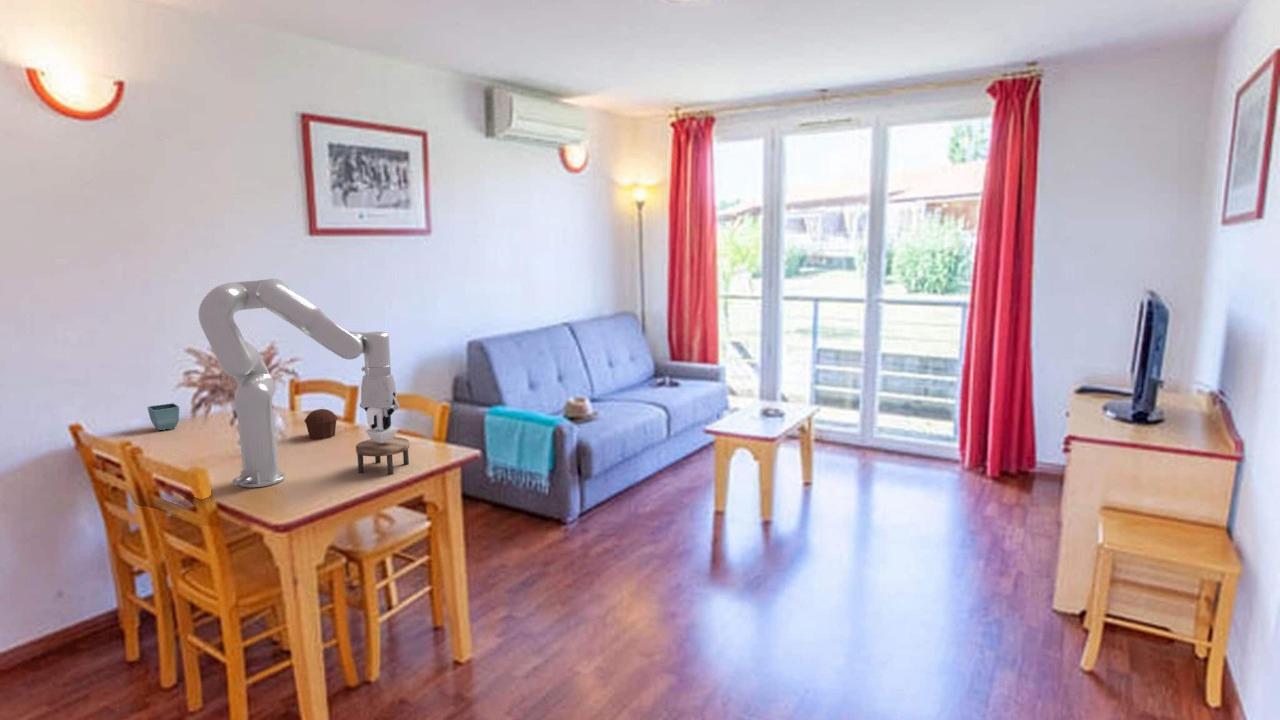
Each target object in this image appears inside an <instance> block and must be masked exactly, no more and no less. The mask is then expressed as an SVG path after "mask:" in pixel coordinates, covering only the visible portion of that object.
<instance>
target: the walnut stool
mask: <svg viewBox="0 0 1280 720" xmlns="http://www.w3.org/2000/svg"><path fill="white" fill-rule="evenodd" d="M409 449H410V441H409V440H408V439H407V438H405V437H398V436H397V437H396V436H395V437H394V438H393V440H390V441H387V442H384V443H379V442H375V441H372V439H371V438H369V439H367V440H362V441H360V442H359V443H357V444H356V445H355V452H356V454H357V455H356V456H357V467H358V469H357V470H358V473H359V474H362V473H364V472H365V467H364V466H365V465H364V464H365V463H364V456H365V457H374V459H375V464H380V463H381V460H382V459H381V457H386V464H387V465H386V466H387V475H388V476H389V475H390V476H392V475H394V464H393V455H398V454H400V453H402V455H403V456H402V457H403V465H404V466H407V465H409V463H410V462H409V461H410V460H409Z"/></svg>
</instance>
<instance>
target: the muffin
mask: <svg viewBox="0 0 1280 720" xmlns="http://www.w3.org/2000/svg"><path fill="white" fill-rule="evenodd" d="M305 417H306V418H304V420H303V421H304V423H305V425H306V429H307V433H308V437H309V439H310V440H315V441H316V440H327V439H331V438H333V437H335V436H336V429H337V427H336V426H337V420H338V416H337V415H336V414H335V413H334V412H333V411H332V410H331V409H326V408H319V409H315V410H313V411H311V412H310V413H308V414H307V415H306V416H305Z"/></svg>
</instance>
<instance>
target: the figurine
mask: <svg viewBox="0 0 1280 720" xmlns="http://www.w3.org/2000/svg"><path fill="white" fill-rule="evenodd" d="M393 407H394V405H392V406H391V408H393ZM375 415H376V417H377V427H376V428H374V429H372V427H371V428H367V429H364V430H365V432H366V434H367V435H368V437H369V439H372V441H375V442H379V443H384V442H387V441H390V440H393V438H394V437H396V435H397V433H398V431H399V427H395V426H392V425H390V427H389V428H387V429H383V417H384V411H383V408H375V407H371V408H368V409H367V412H366V421H367V422H366V423H367V424H368V425H370V426H372V425H373V424H374V416H375Z"/></svg>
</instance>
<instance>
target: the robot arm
mask: <svg viewBox="0 0 1280 720" xmlns="http://www.w3.org/2000/svg"><path fill="white" fill-rule="evenodd" d="M263 308H264V309H266V310H267V311H270V313H273V314H274V315H276V316H277V317H278V318H281V319H282V320H284V321H286V322H288V323H289V324H290V325H292V326H294V327H295V328H297V329H298V330H300V331H301V332H302V333H303V334H305V335H306V336H308V337H310V338H311V339H312V340H313V341H315V342H317V343H318V344H319V345H321V346H322V347H324V348H325V349H327V350H328V351H331V352H332V353H333V354H335V355H336V356H338V357H340V358H342V359H345V360H354V359H355V360H356V359H357V358H359V357H360V356H361V354H362V355H364V366H362V367H361V371H362V372H364V375H363V376H362V380H361V386H360V387H361V388H360V403H359V407H360V408H361V409H363V410H365V412H366V413H367V409H368V408H371V407H375V408H383V411H384V417H383V429H387V428H389V427H390V426H392V418H391V417H392V415H393V414H394V412H395V411H397V410H399V409H400V408H401V405H400V403H399V401H398V397H397V388H396V382H395V379H394V376H393V374H392V372H391V369H392V367H391V355H390V352H391V351H390V350H391V349H390V337H389V334H388V333H387V332H385V331H368V332H363V331H362V332H360V331H348V330H346V329H344V328H343V327H341V326H339V325H338V324H336V323H335V322H334V321H333V320H332V319H330V318H329V317H328V316H327V315H326V314H325V313H324V311H322V309H321V308H320V307H318V306H317V305H316V304H314V303H312V302H311V301H309V300H308V299H306V298H305V297H303V296H301V295H300V294H298V293H297V292H296V291H294V290H292V289H291V288H290V287H289V286H288V285H287V283H285V281H283V280H281V279H278V278H268V279H267V278H265V279H260V280H259V279H258V280H247V281H246V280H245V281H234V282H233V281H232V282H227V283H223V284H220V285H217V286H216V287H214V288H213V289H211V290H210V291H209V292H208V293H206V295H205V296H204V297H203V299H202V300H201V303H200V304H199V309H198V320H199V324H200V327H201V329H202V331H203V333H204V335H205V338H206V339H207V341H208V344H209V345H210V348H211V350H212V352H213V353H214V355H215V358H216V359H217V362H218V364H219V367H220V368H221V371H223V372H224V374H225V375H227V376H228V377H231V378H234V380H235V382H236V384H237V387H236V390H235V393H234V407H235V413H236V417H237V425H238V426H237V427H238V434H239V435H238V436H239V443H240V453H241V454H240V456H241V464H242V465H241V466H242V470H240V475H239V476H237V477H234V478H233V479H232V480H231V481H232V484H233V485H235V486H236V485H237V486H240V487H242V488H263V487H268V486H273V485H275V484H279V483H281V482H282V481H284V479H285V478H286V475H285V474H286V473H285V472H283V471H280V470H279V458H278V457H279V456H278V446H277V434H276V427H275V424H276V423H275V415H274V407H273V397H274V395H275V393H276V384H275V382H274V379H273V377H272V375H271V373H270V371H269V369H268V367H267V366H266V363H265V361H264V359H263V358H262V355H261V353H260V351H259V350H258V348H256V347H255V346H254V345H253V344H251V343H249V342H246V341H245V338H244V337H243V335H242V333H241V330H240V328H239V326H238V325H237V324H236V322H235V319H234V314H235V313H236V312H239V311H243V310H245V311H246V310H253V309H254V310H256V309H263ZM392 405H394V407H393V408H391V406H392ZM376 427H377V417H376V415H375V416H374V424H373V425H371V428H372V429H374V428H376Z"/></svg>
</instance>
